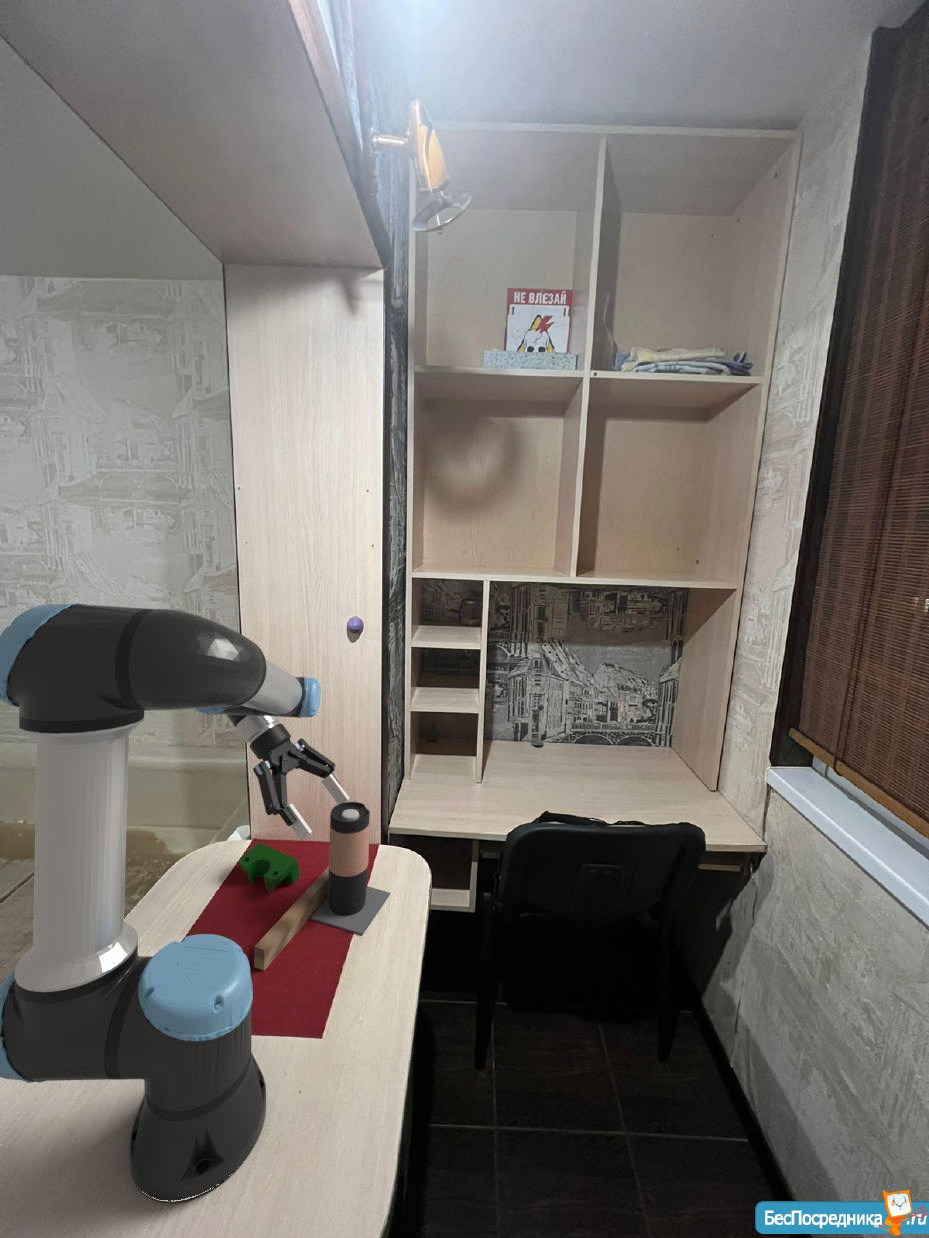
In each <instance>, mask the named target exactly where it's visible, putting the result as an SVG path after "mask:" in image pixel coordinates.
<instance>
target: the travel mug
mask: <svg viewBox="0 0 929 1238" xmlns="http://www.w3.org/2000/svg"><path fill="white" fill-rule="evenodd" d="M370 811H371V810H370V809H368V808H367V807H366V806H365V804H364V803H363V802H359V801H346V802H345V803H341V804H338V803H337V805H334V807H332V808H331V810H330V816H329V818H330V819H329V847H328V848H329V849H328V867H329V895H328V897H329V906H330V909H331V911H332V912H333V913H335V914H337V915H341V916H349V915H353V914H356V913H358V912H359V911H361V910H362V909H363V907H364V905H365V901H366V889H367V886H368V874H369V872H368V871H369V852H370V851H369V849H370V848H369V843H370V816H371V815H370V814H371V813H370Z"/></svg>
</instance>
